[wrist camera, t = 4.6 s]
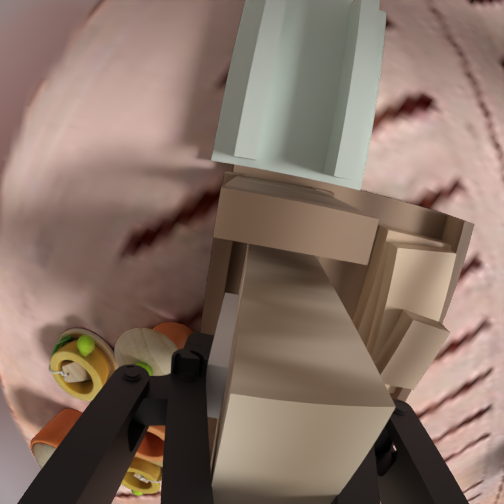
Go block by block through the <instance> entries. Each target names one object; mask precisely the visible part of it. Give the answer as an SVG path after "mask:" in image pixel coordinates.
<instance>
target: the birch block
mask: <svg viewBox="0 0 504 504" xmlns="http://www.w3.org/2000/svg"><path fill="white" fill-rule="evenodd" d="M395 407H396V406H395V404H394V402H393V400H392V398H391V396H390V394H389V392H388V390H387V388H386V386H385V384H384V382H383V380H382V378H381V376H380V374H379V372H378V370H377V368H376V366H375V364H374V362H373V360H372V358H371V356H370V354H369V352H368V351H367V349H366V347H365V345H364V343H363V341H362V339H361V337H360V335H359V333H358V331H357V330H356V328H355V326H354V324H353V322H352V320H351V318H350V317H349V315H348V313H347V311H346V309H345V307H344V305H343V304H342V302H341V300H340V298H339V296H338V295H337V293H336V291H335V289H334V287H333V286H332V284H331V282H330V280H329V278H328V277H327V275H326V273H325V271H324V269H323V268H322V266H321V264H320V262H319V261H318V259H317V257H316V256H315V255H309V254H304V253H298V252H293V251H287V250H282V249H276V248H271V247H265V246H260V245H254V244H248V246H247V251H246V257H245V262H244V268H243V273H242V278H241V284H240V289H239V299H238V305H237V312H236V319H235V326H234V333H233V339H232V346H231V353H230V360H229V367H228V372H227V378H226V383H225V389H224V394H223V399H222V405H221V410H220V415H219V419H217V425H216V431H215V438H214V444H213V451H212V458H211V464H210V465H211V478H212V485H211V487H212V490H213V502H214V504H331V503H332V501H333V500H334V499H335V498H336V496H337V495H338V494H339V493H340V492H341V491H342V489H343V488H344V487H345V485H346V484H347V483H348V481H349V480H350V479H351V477H352V476H353V474H354V473H355V471H356V470H357V469H358V467H359V466H360V464H361V463H362V461H363V460H364V458H365V457H366V455H367V454H368V452H369V451H370V449H371V448H372V446H373V444H374V443H375V441H376V440H377V438H378V436H379V435H380V433H381V432H382V430H383V428H384V427H385V425H386V423H387V421H388V420H389V418H390V416H391V414H392V413H393V411H394V409H395Z"/></svg>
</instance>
